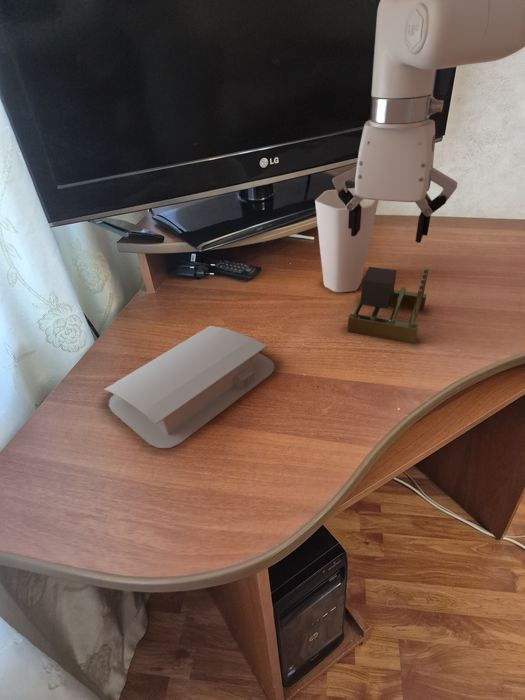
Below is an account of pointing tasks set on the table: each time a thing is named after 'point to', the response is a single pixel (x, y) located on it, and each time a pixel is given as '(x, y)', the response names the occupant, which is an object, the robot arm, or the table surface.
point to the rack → (392, 316)
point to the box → (378, 287)
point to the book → (189, 385)
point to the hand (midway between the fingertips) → (386, 236)
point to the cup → (343, 241)
